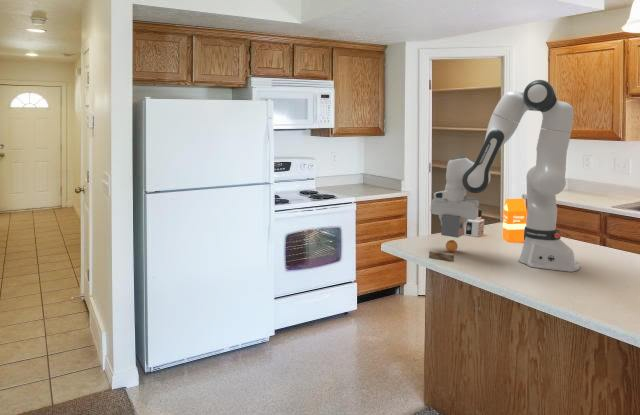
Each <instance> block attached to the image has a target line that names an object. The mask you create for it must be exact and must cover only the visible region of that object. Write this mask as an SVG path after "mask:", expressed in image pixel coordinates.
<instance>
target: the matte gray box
mask: <svg viewBox="0 0 640 415" xmlns="http://www.w3.org/2000/svg"><path fill="white" fill-rule="evenodd" d="M464 222H465V221H464V218H461V217H459V216H452V215H445V214H444V215H443V216H442V225H441V231H440V232H441V236H445V237H451V238H460V237H462V236H465V235H464V229H462V228H461V224H463V223H464Z"/></svg>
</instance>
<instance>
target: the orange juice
mask: <svg viewBox="0 0 640 415" xmlns="http://www.w3.org/2000/svg"><path fill="white" fill-rule="evenodd" d="M503 205H504V206H503V207H502V208H503V209H502V239H503V240H504V241H505V242H507V243H524V229H525V226H526V219H527V205H526V201H525V198H505V201H504V204H503Z"/></svg>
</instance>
